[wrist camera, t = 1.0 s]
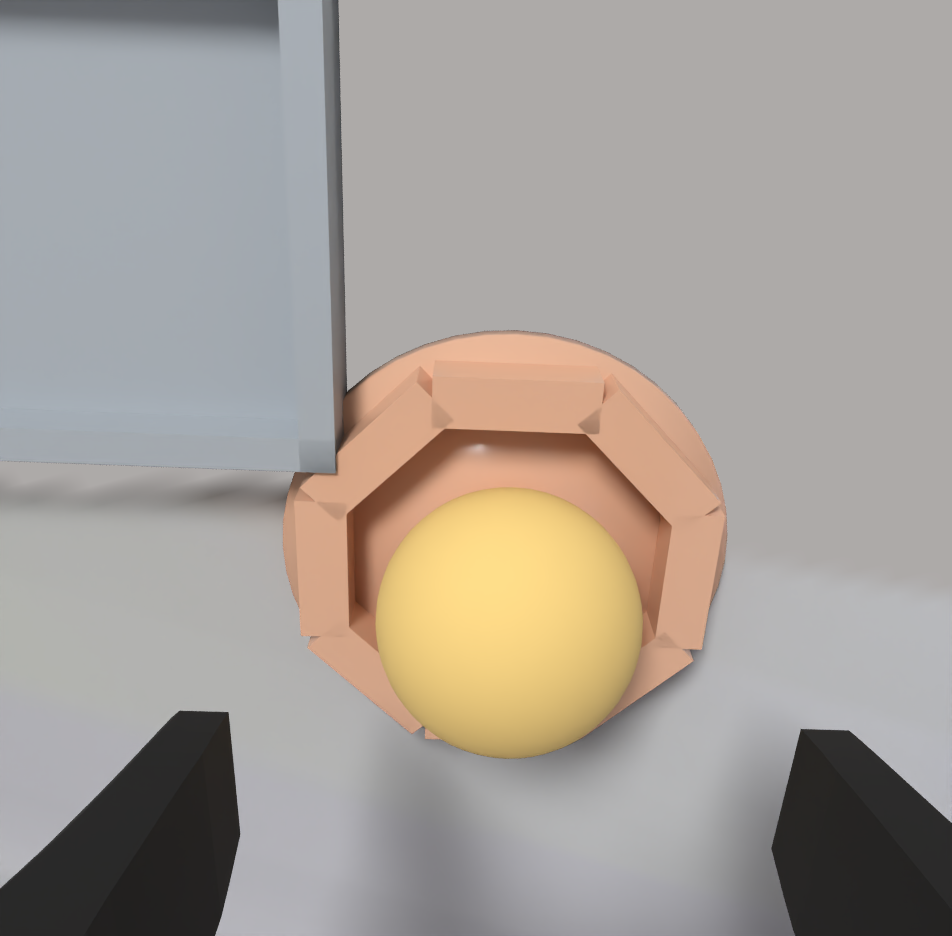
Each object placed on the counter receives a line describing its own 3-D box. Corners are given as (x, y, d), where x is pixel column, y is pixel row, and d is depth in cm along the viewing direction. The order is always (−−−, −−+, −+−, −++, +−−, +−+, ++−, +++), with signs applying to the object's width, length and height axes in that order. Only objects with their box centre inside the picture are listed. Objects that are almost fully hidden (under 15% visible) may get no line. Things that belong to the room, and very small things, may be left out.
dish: (754, 340, 15) (780, 363, 14) (687, 718, 18) (703, 765, 17) (276, 320, 15) (257, 342, 14) (297, 705, 18) (284, 752, 17)
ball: (633, 451, 15) (689, 579, 11) (607, 653, 17) (647, 825, 13) (388, 441, 15) (357, 567, 11) (388, 645, 17) (361, 817, 13)
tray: (336, -63, 13) (319, -83, 11) (348, 440, 16) (335, 473, 14) (-352, -96, 12) (-455, -119, 11) (-198, 419, 16) (-263, 450, 14)
